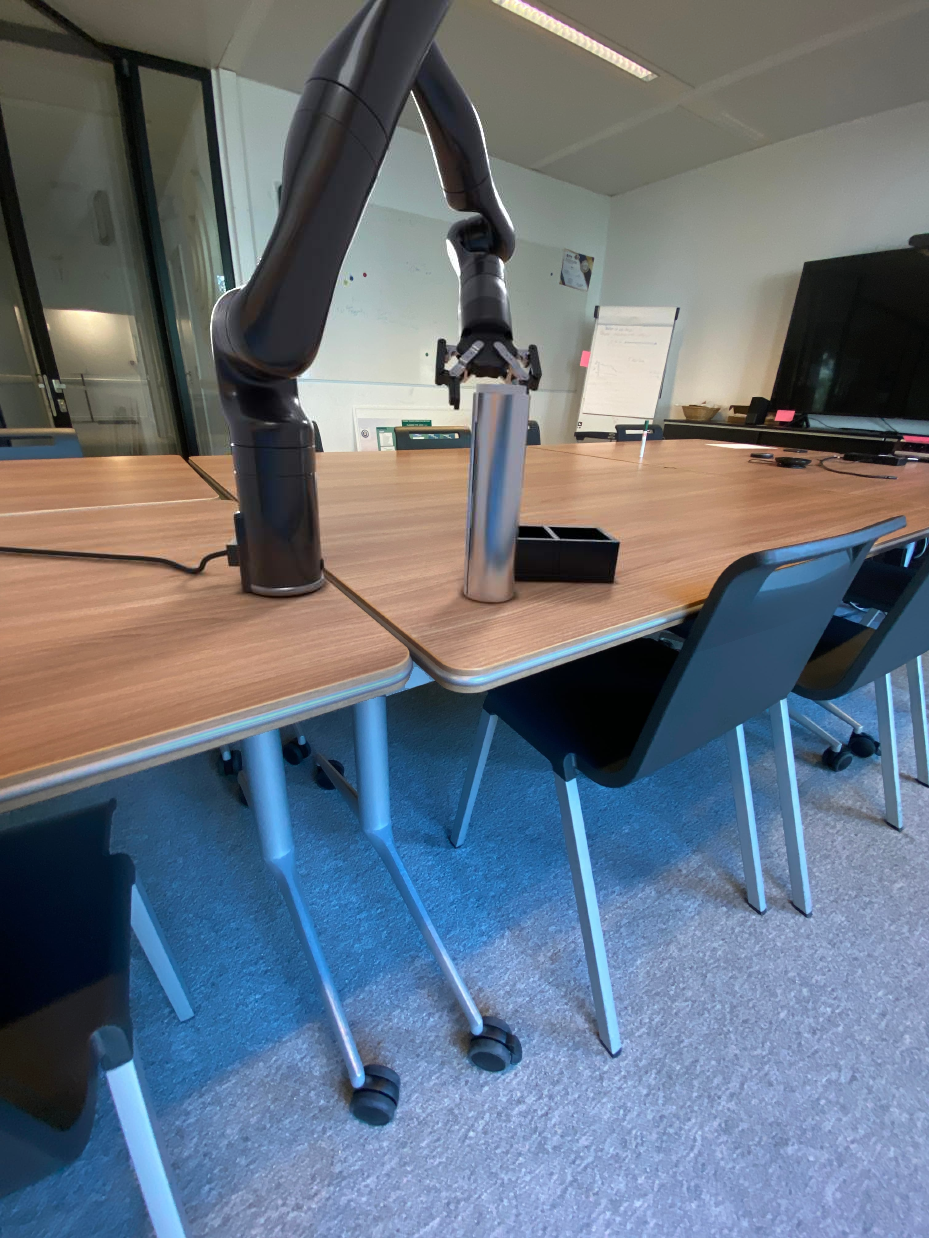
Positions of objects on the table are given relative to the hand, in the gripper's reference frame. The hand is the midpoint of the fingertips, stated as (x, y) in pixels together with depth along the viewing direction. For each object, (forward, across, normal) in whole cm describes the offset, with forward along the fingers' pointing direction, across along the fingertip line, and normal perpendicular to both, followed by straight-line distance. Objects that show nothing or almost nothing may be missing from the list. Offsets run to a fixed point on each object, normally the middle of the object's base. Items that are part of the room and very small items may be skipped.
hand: (489, 407), depth 69 cm
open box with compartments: (+16, +10, +16) cm, 25 cm away
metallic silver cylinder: (+23, 0, +9) cm, 25 cm away
